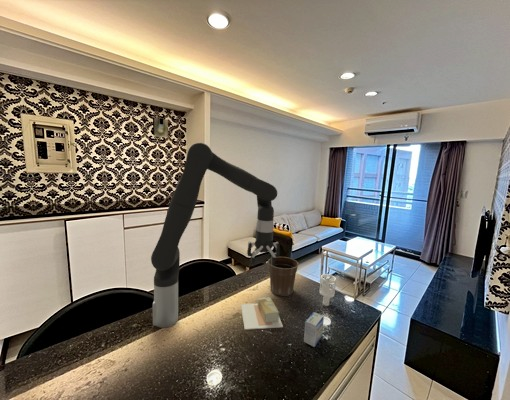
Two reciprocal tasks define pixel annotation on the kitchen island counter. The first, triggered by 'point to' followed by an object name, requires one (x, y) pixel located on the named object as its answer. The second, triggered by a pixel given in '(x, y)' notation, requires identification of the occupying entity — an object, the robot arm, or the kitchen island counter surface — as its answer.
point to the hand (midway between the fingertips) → (262, 264)
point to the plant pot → (282, 275)
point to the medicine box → (313, 329)
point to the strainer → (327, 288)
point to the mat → (256, 318)
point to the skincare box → (268, 309)
